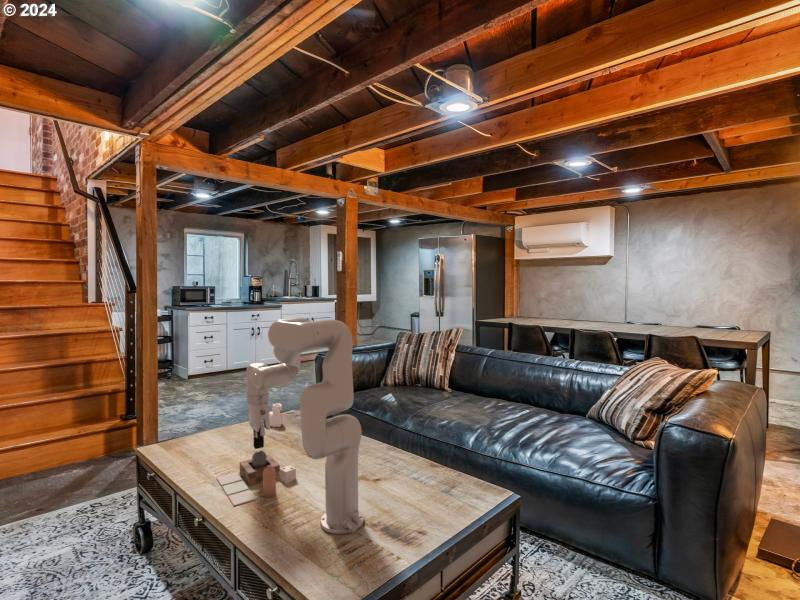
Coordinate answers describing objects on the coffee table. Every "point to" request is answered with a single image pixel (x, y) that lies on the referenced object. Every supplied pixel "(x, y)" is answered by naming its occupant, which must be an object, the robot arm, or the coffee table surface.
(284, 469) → the die
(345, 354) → the robot arm
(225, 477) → the tile strip
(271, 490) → the brown rounded cylinder piece
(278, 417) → the bust
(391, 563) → the coffee table surface
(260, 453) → the dome
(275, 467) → the frame
